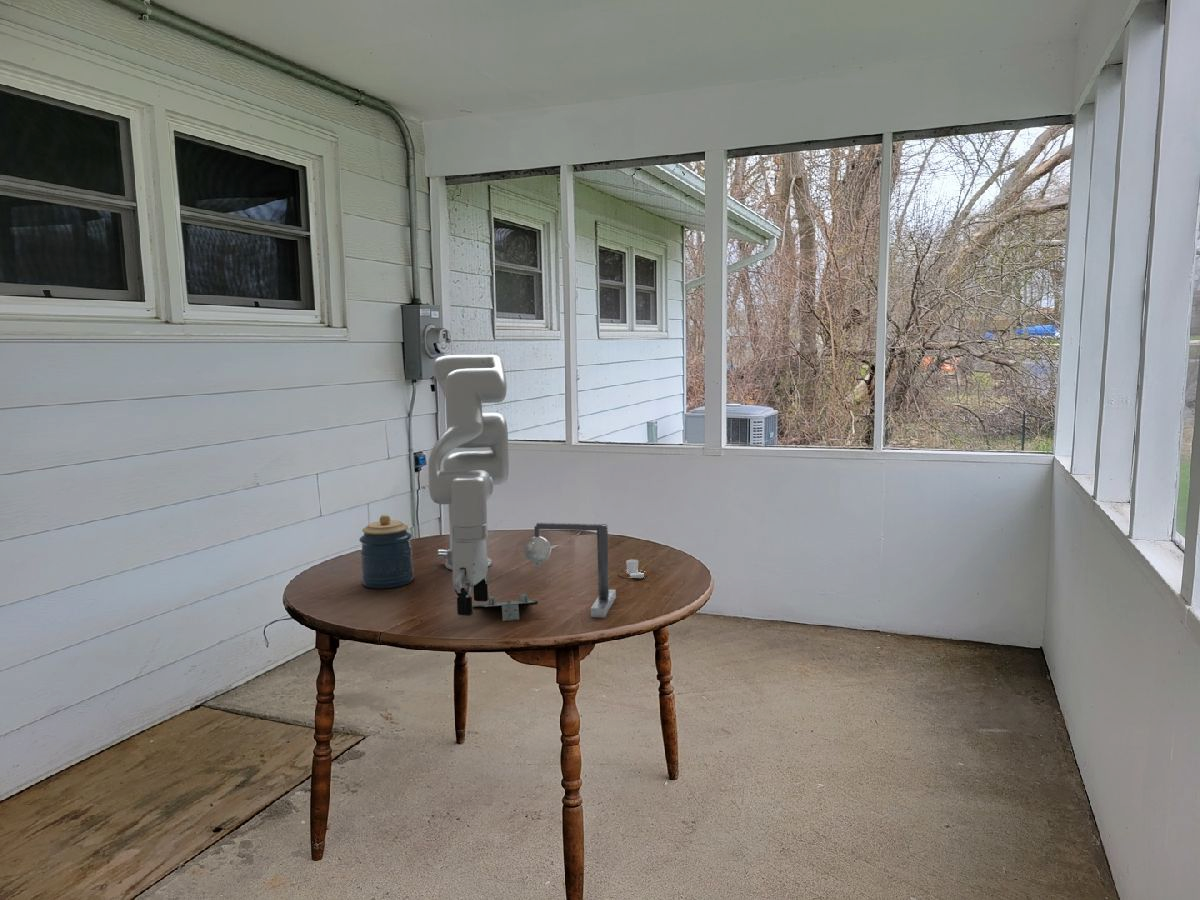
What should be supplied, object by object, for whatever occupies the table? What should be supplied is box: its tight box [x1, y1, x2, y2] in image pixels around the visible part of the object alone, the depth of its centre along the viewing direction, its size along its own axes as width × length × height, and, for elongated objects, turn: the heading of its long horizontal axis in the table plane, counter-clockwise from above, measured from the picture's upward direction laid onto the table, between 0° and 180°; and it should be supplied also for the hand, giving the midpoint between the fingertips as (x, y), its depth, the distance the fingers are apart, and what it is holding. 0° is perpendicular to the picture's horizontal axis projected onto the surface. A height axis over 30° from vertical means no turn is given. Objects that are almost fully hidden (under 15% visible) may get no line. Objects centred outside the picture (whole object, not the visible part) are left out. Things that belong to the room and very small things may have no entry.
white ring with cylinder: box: [625, 559, 645, 579], centre depth 203 cm, size 9×8×4 cm
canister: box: [358, 514, 415, 589], centre depth 200 cm, size 13×13×18 cm
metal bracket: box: [472, 593, 539, 622], centre depth 176 cm, size 14×6×15 cm
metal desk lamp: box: [523, 522, 617, 619], centre depth 178 cm, size 20×14×19 cm
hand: (473, 607), depth 173 cm, fingers open, 9 cm apart
